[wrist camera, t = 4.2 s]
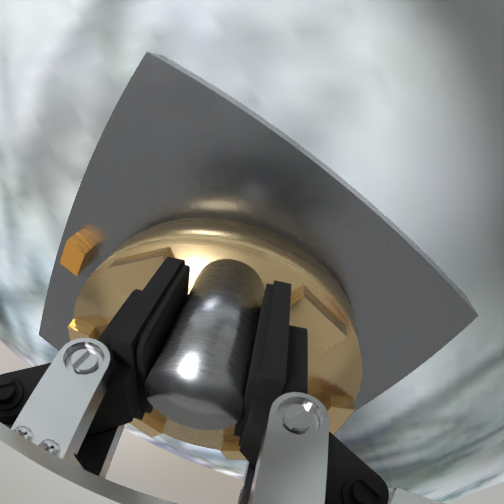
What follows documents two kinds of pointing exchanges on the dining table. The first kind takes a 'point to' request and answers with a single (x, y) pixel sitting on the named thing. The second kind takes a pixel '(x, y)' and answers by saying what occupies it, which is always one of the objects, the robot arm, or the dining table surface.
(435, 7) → the dining table surface
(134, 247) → the brass crank wheel
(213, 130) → the housing
